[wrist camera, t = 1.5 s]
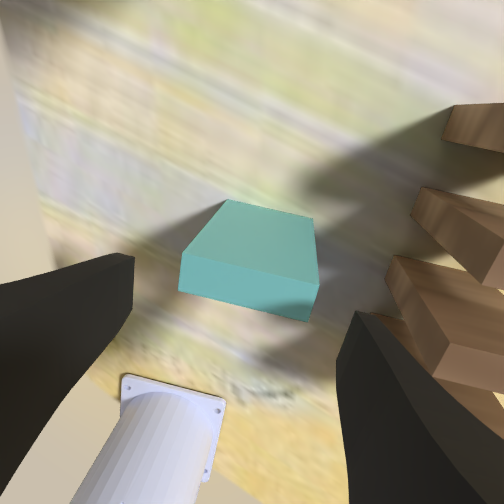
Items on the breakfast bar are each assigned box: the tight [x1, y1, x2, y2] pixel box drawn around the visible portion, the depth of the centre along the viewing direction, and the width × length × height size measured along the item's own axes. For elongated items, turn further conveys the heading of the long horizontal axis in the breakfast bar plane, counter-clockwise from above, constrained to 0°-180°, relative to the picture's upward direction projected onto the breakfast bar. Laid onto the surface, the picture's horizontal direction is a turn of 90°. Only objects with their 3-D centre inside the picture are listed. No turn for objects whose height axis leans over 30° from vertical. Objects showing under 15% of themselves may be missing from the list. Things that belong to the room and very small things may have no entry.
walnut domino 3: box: [370, 313, 504, 439], centre depth 17 cm, size 2×5×8 cm, turn 79°
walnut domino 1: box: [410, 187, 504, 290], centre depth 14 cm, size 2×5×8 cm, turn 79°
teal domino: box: [178, 199, 320, 322], centre depth 16 cm, size 2×5×8 cm, turn 79°
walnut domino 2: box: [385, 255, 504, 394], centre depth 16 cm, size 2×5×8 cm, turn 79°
